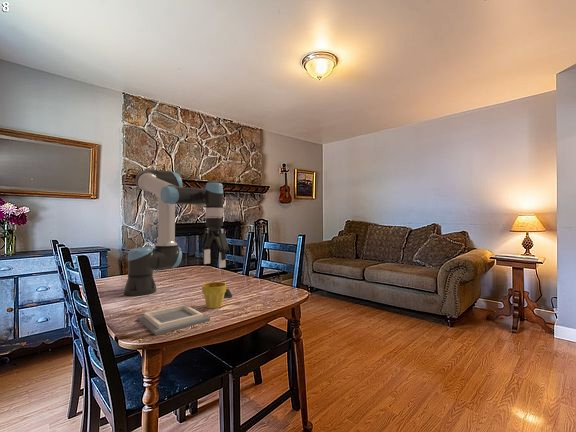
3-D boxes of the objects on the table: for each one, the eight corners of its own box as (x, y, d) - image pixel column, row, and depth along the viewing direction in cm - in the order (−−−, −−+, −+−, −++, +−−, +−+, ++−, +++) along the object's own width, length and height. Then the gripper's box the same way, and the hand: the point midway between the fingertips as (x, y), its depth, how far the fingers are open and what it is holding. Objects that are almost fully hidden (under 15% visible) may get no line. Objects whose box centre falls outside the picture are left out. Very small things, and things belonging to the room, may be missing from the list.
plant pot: (208, 311, 123) (208, 288, 123) (198, 305, 130) (198, 284, 130) (230, 306, 129) (230, 284, 129) (219, 301, 137) (219, 280, 137)
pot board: (137, 319, 113) (137, 312, 113) (187, 308, 127) (187, 302, 127) (155, 335, 99) (155, 327, 99) (209, 320, 112) (209, 314, 112)
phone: (216, 297, 141) (213, 289, 156) (216, 299, 141) (213, 291, 156) (232, 295, 144) (228, 288, 158) (232, 298, 144) (228, 290, 158)
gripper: (237, 217, 123) (237, 268, 123) (208, 217, 142) (208, 261, 142) (221, 217, 118) (221, 270, 118) (193, 217, 136) (194, 263, 136)
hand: (214, 265), depth 130 cm, fingers open, 13 cm apart
